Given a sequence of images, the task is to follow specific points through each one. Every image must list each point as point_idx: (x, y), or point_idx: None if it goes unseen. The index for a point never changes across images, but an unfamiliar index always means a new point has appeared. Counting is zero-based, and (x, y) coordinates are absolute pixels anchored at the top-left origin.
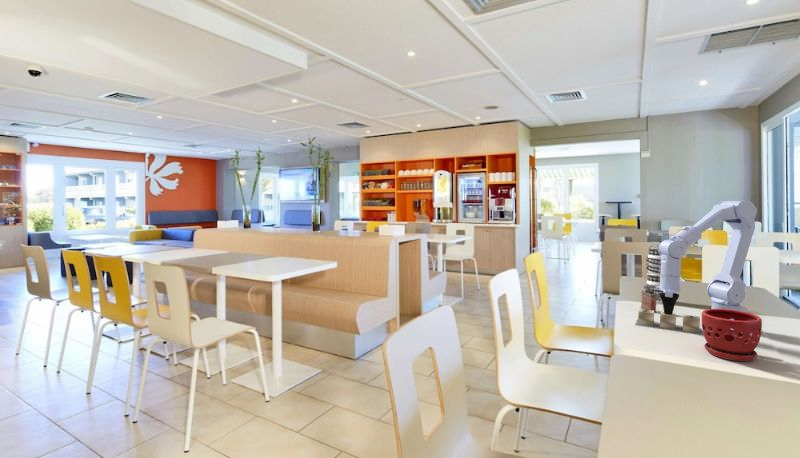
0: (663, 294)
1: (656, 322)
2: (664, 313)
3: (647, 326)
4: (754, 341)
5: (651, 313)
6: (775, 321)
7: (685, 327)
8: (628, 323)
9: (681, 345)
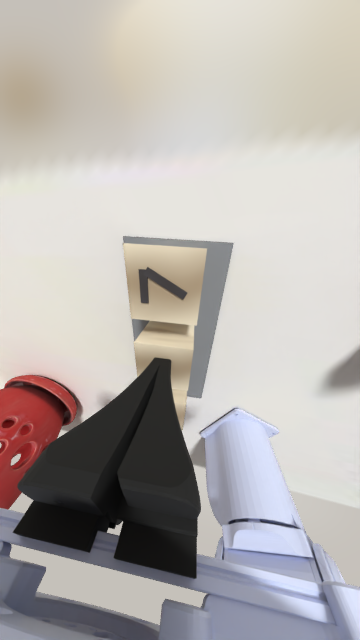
0: (30, 494)
1: (213, 313)
2: (155, 358)
3: None
4: (2, 446)
5: (131, 309)
6: (331, 490)
7: None
8: (157, 205)
9: (36, 343)
